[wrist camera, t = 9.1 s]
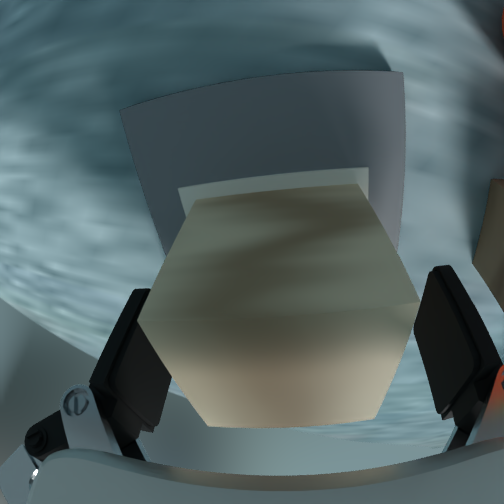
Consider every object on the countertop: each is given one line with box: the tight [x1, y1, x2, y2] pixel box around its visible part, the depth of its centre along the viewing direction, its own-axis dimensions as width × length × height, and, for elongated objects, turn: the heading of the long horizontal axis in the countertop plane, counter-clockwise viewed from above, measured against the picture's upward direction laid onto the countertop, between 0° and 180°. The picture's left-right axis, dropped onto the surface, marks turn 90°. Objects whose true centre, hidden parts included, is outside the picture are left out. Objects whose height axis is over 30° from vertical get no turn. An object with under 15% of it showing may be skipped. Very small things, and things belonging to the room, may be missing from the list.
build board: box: [119, 70, 406, 257], centre depth 13 cm, size 10×14×1 cm
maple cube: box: [137, 184, 420, 428], centre depth 10 cm, size 6×6×6 cm
